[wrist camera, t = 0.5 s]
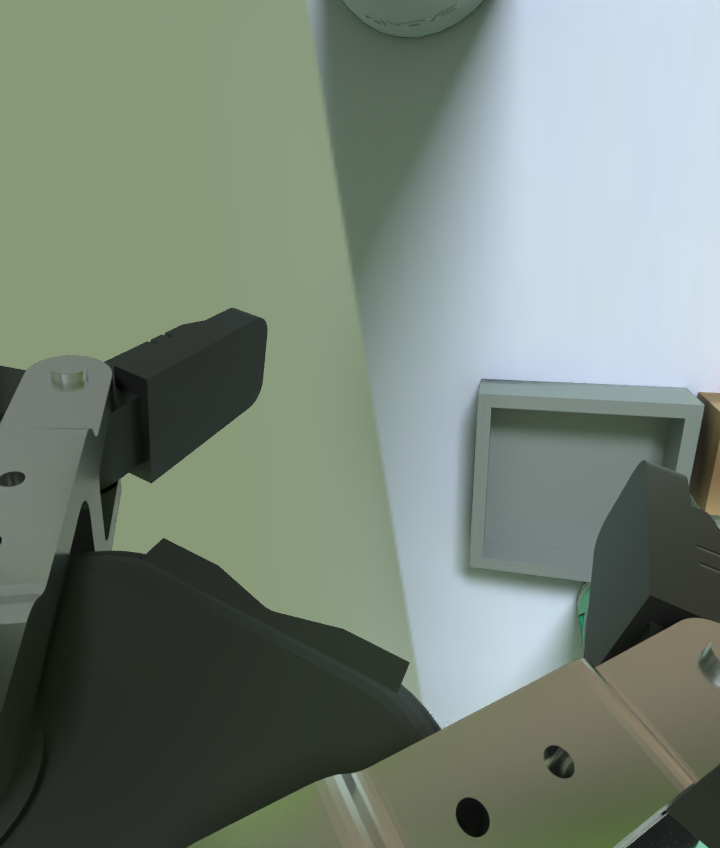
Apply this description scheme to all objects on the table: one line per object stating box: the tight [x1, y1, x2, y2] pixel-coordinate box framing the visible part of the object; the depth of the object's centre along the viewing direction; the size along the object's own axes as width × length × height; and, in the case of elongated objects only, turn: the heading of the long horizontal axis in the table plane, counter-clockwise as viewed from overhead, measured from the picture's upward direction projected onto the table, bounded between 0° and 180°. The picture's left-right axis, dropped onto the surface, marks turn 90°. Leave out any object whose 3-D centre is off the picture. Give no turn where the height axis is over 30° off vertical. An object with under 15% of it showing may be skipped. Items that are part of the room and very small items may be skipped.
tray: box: [469, 379, 705, 582], centre depth 30 cm, size 10×10×3 cm
